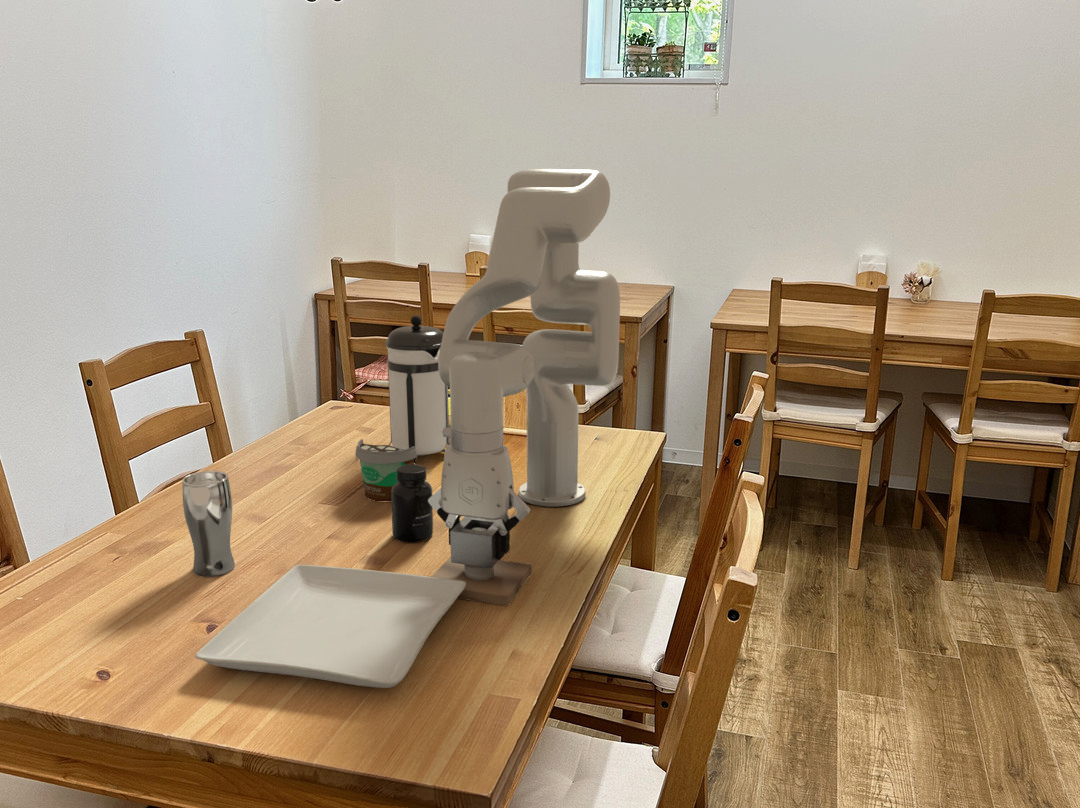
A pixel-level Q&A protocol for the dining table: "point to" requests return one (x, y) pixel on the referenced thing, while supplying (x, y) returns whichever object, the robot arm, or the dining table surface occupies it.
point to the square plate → (335, 625)
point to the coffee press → (417, 389)
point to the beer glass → (209, 521)
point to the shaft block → (487, 579)
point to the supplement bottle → (411, 505)
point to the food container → (381, 468)
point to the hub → (474, 542)
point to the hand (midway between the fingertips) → (479, 552)
